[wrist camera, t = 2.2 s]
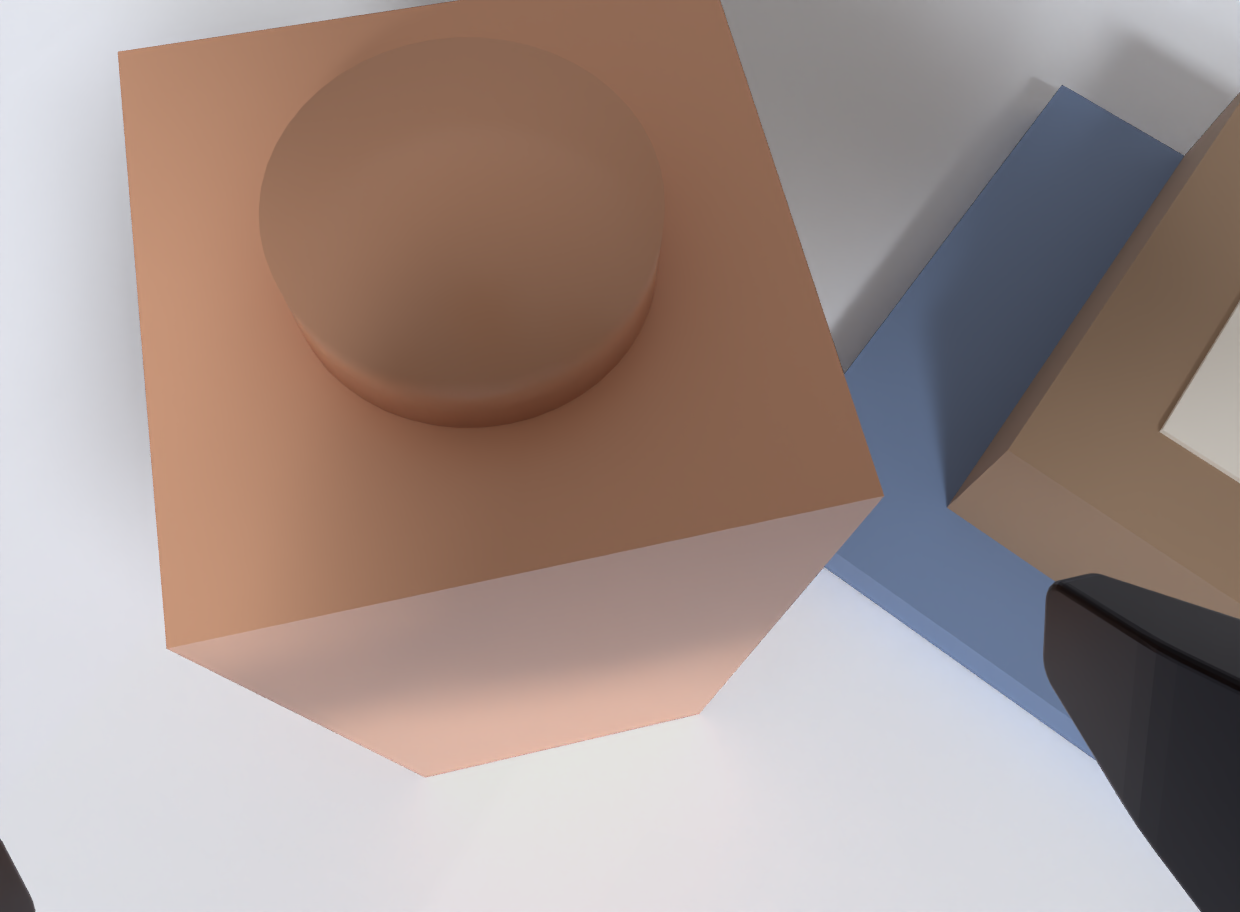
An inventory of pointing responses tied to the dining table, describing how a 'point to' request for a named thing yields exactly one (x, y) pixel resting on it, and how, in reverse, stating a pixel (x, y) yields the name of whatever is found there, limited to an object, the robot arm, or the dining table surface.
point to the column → (479, 369)
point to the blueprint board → (975, 382)
